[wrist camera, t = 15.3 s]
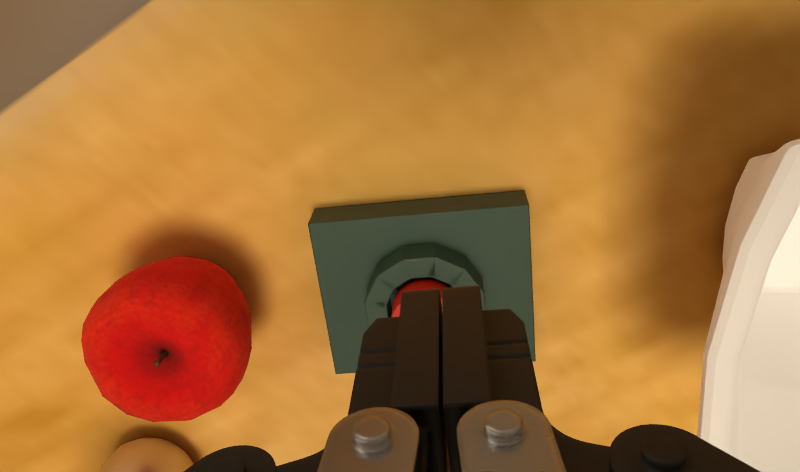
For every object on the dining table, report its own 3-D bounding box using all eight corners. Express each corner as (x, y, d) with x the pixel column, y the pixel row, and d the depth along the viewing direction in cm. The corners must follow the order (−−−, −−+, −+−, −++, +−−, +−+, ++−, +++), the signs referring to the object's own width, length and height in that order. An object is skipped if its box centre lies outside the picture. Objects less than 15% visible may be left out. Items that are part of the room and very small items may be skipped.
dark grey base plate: (524, 190, 38) (533, 218, 35) (531, 340, 43) (539, 379, 39) (314, 208, 40) (301, 237, 36) (340, 353, 44) (331, 392, 40)
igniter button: (455, 276, 37) (456, 292, 35) (460, 333, 38) (461, 351, 37) (389, 281, 37) (386, 297, 36) (396, 337, 39) (394, 355, 37)
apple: (245, 374, 45) (207, 459, 38) (114, 323, 44) (51, 401, 37) (291, 263, 41) (260, 334, 34) (151, 205, 40) (88, 266, 33)
